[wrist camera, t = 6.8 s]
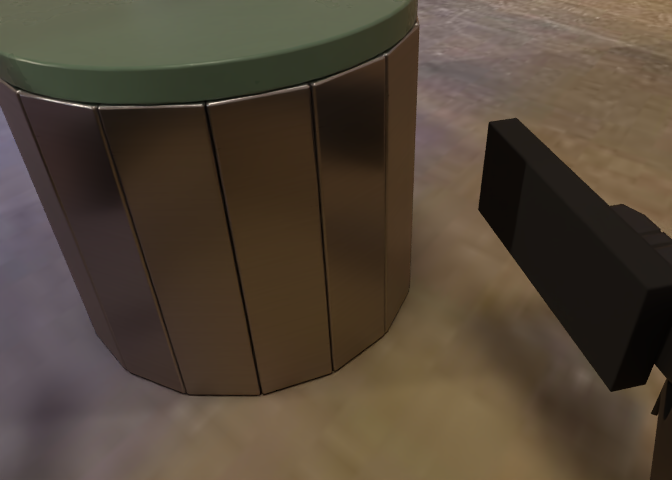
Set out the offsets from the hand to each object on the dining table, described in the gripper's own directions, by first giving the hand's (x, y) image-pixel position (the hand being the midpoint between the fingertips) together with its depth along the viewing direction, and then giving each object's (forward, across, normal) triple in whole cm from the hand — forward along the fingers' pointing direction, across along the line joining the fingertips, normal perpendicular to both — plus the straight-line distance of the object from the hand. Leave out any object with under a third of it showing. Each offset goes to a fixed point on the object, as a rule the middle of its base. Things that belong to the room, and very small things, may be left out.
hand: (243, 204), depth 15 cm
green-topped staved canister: (+4, 0, -6) cm, 7 cm away
